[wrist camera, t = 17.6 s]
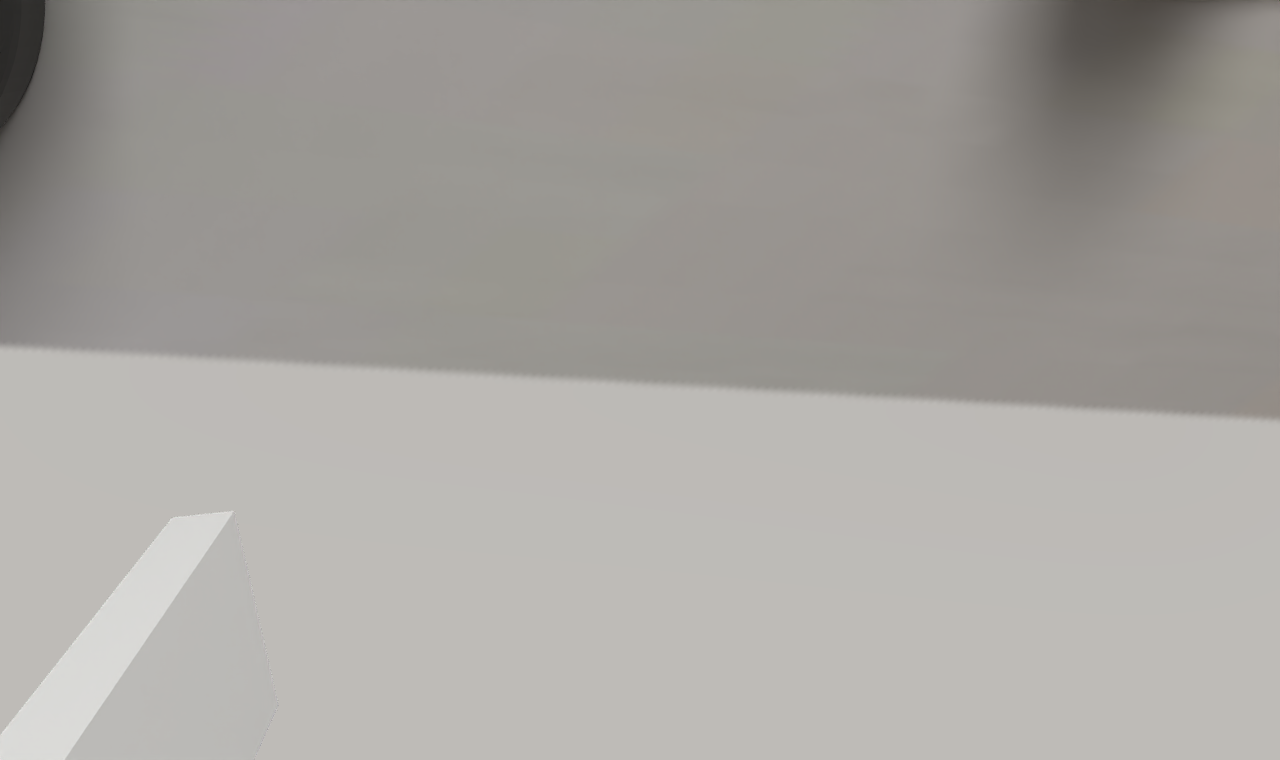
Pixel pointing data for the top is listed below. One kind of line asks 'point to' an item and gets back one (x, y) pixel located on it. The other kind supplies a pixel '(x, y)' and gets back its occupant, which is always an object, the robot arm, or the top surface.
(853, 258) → the top surface
